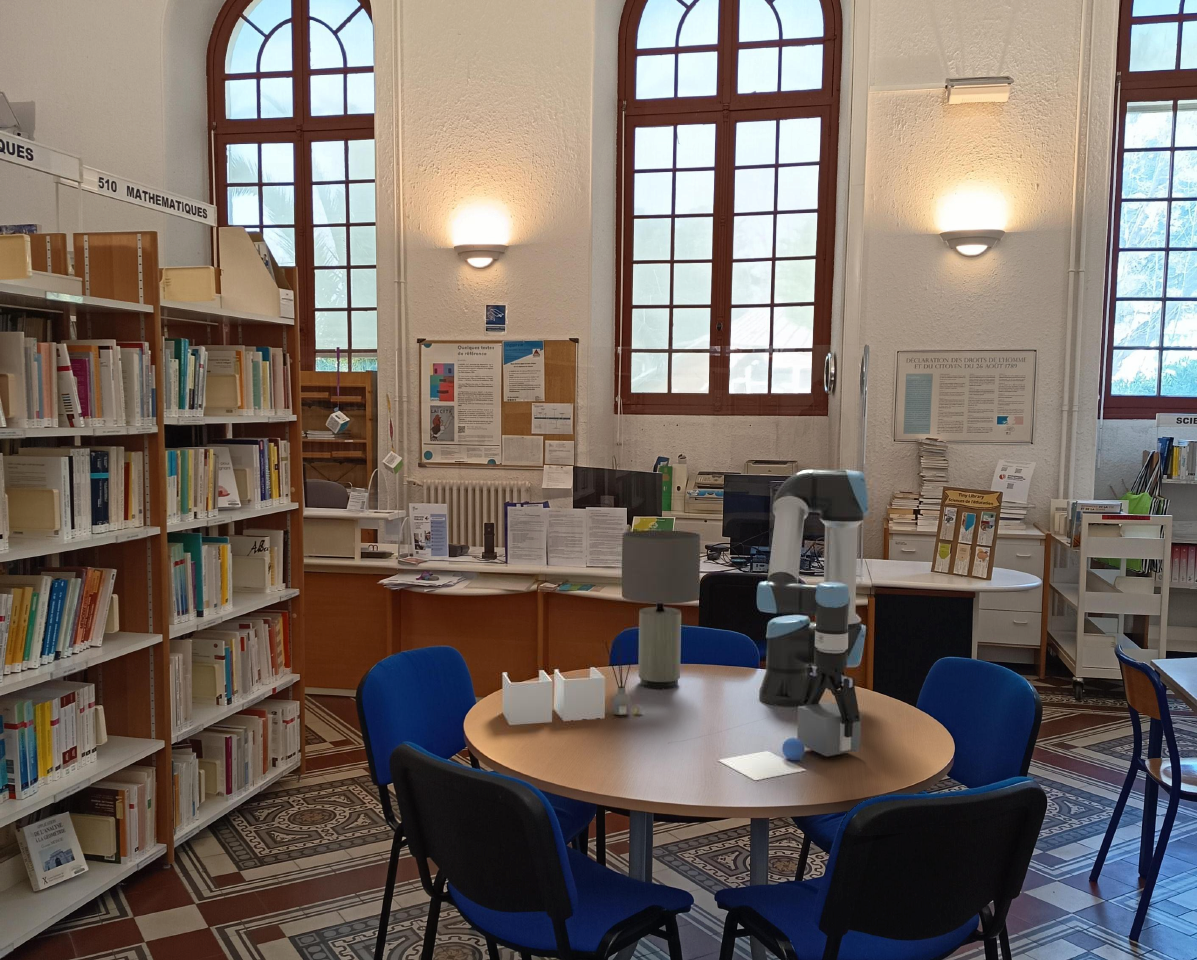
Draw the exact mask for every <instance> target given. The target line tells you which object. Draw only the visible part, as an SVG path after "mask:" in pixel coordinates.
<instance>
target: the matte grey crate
mask: <svg viewBox="0 0 1197 960" xmlns="http://www.w3.org/2000/svg"><path fill="white" fill-rule="evenodd" d="M859 715H860V721H859V722H854V723H853V735H852V737H851V750H846V751H840V722H842V721H843V720H842V717H841V714H840V711H839V708H838V705H837V702H834V701H826V702H825V701H824V702H819V703H818V704H812V705H806V706H797V736H796V738H797V739H799V740H800V741H801V742H802V743H803V745H804V748H807V749H809V750H811V751H813V752H816V753H818V754H820V755H822V756H824V757H830V756H836V755H840V754H841V755H842V754H847V753H850V752H851V753H852V752H855V751H860V750H861V740H862V739H861V737H862V736H861V735H862V712H861V711H859ZM854 717H855V716H854ZM847 718H848V716H847Z"/></svg>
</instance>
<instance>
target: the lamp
mask: <svg viewBox="0 0 1197 960" xmlns="http://www.w3.org/2000/svg"><path fill="white" fill-rule="evenodd" d="M621 540H622V543H621V548H622V549H621V597H622V598H623V599H625V600H628V601H632V602H638V603H645V604H646V603H647V604H656V606H652V607H651V606H650V607H643V608H641V609H639V611H638V612H639V613H638V615H639V616H638V678H639V679H640V681H639V683H640V686H641V687H644V688H646V689H650V690H670V689H671V690H672V689H675V688H677V687H678V686H679V680H680V678H681V649H682V648H681V647H682V646H681V644H682V643H681V642H682V640H681V639H682V638H681V637H682V636H681V634H682V611H681V610H680V609H677V608H674V607H667V606H664V605H665V604H684V603H691V602H695V601H697V600H699V598H700V587H701V586H700V584H701V583H700V581H701V580H700V579H701V573H700V572H701V534H699V533H696V532H691V531H685V530H684V531H681V530H666V529H665V530H664V529H662V530H661V529H660V530H659V529H656V530H655V529H650V530H649V529H647V530H632V531H626V532H625V531H624V532H623V533H622V539H621Z"/></svg>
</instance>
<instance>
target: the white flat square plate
mask: <svg viewBox="0 0 1197 960" xmlns="http://www.w3.org/2000/svg"><path fill="white" fill-rule="evenodd" d="M717 762H720V763H721V764H722V765H724V766H727V767H728V768H730V769H732V770H734V771H736V772H738V773H740V774H741V775H743V776H745V777H746V778H749V779H751V780H752V781H755V782H756V781H757V780H758V781H762V780H767V778H768V779H771V778H772V777H773V778H777V776H778V777H782V775H783V776H786V775H787V774H788V775H791V774H792V775H794V774H797V772H798V773H802V771H803V772H807V769H805V768H803V767H801V766H799V765H797V764H795V763H793V762H791V761H790V760H787V759H784V758H782V757H780V756H778V755H777V754H774V753H772V752H770V751H768V750H766V751H761V752H754V753H750V754H743V755H737V756H733V757H732V756H731V757H727V758H721V759H717ZM758 781H757V782H758Z"/></svg>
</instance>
